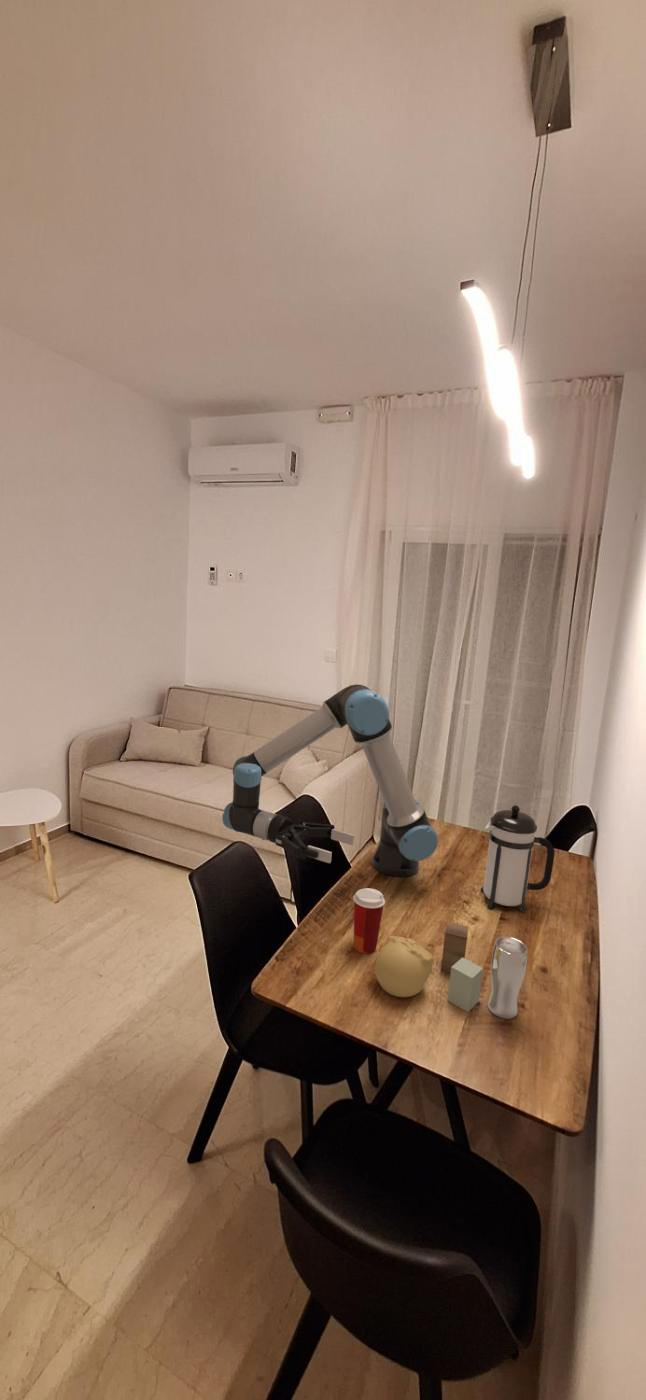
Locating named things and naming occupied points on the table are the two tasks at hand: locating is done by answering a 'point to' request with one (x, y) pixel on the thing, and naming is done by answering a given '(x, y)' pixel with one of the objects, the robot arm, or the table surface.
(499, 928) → the table surface
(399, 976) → the sculpture
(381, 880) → the table surface
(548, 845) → the coffee press
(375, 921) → the paper cup
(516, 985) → the beer glass
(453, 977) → the sage block
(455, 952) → the walnut block
